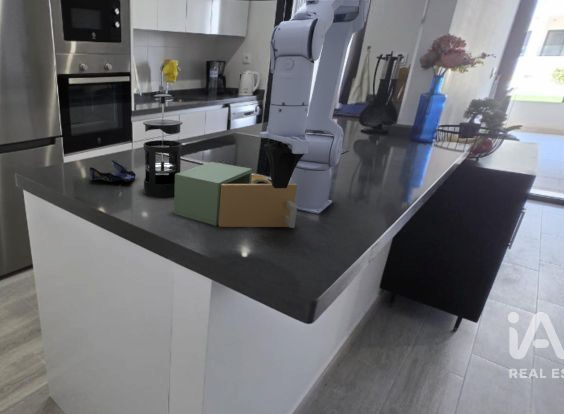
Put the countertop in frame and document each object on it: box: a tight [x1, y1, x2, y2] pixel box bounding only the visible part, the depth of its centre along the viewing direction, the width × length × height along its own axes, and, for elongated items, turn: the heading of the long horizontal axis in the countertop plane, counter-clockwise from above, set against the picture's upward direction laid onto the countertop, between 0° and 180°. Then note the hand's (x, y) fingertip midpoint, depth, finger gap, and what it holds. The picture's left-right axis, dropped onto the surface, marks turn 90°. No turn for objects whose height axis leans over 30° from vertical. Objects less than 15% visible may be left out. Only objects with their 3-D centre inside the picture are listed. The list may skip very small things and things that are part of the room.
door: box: [218, 183, 298, 229], centre depth 69 cm, size 4×14×8 cm, turn 89°
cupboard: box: [173, 161, 253, 227], centre depth 79 cm, size 10×14×9 cm
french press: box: [142, 93, 183, 199], centre depth 89 cm, size 12×9×23 cm
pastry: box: [251, 174, 272, 184], centre depth 95 cm, size 9×7×4 cm
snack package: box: [88, 159, 137, 183], centre depth 102 cm, size 12×6×12 cm
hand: (279, 187), depth 65 cm, fingers closed
